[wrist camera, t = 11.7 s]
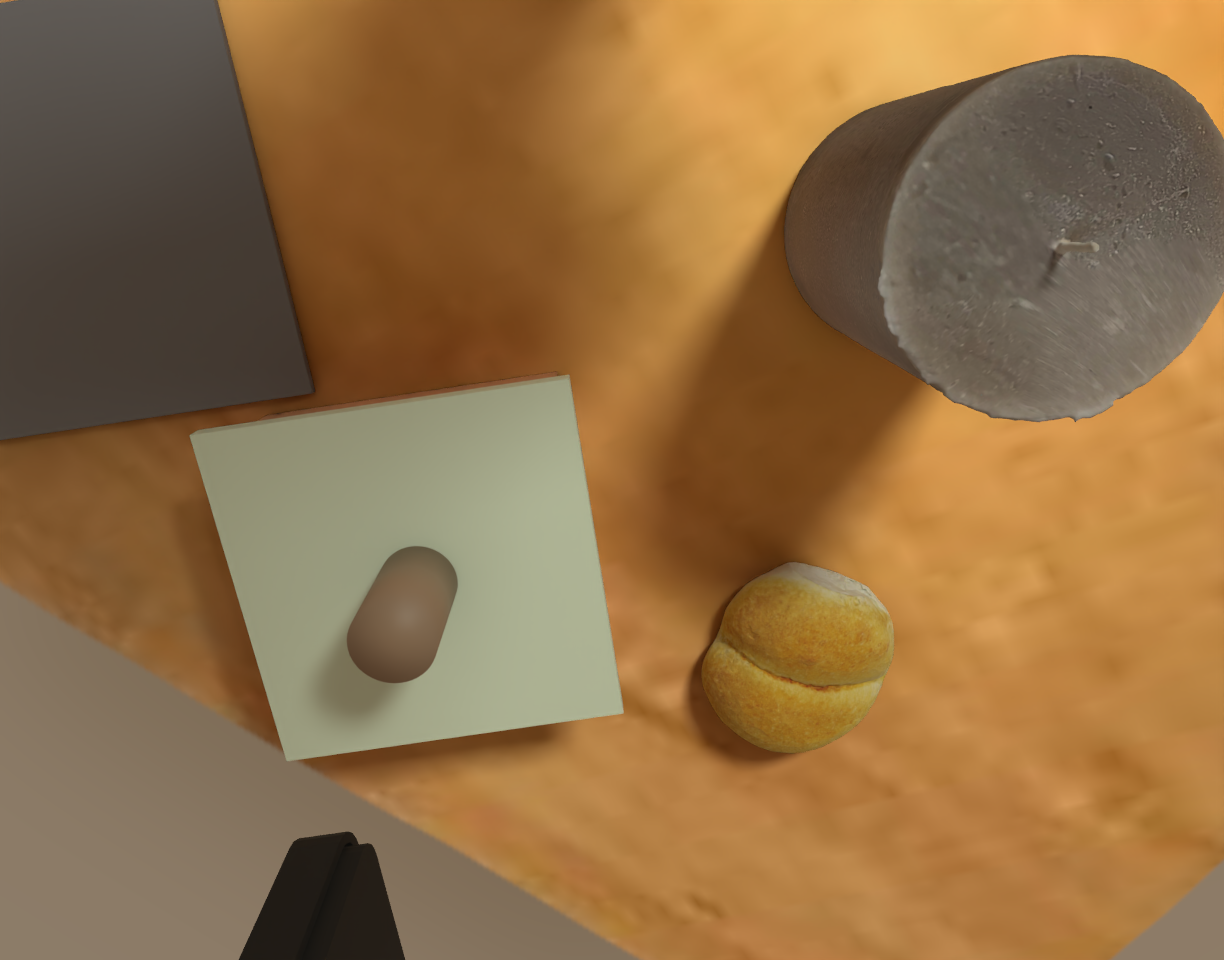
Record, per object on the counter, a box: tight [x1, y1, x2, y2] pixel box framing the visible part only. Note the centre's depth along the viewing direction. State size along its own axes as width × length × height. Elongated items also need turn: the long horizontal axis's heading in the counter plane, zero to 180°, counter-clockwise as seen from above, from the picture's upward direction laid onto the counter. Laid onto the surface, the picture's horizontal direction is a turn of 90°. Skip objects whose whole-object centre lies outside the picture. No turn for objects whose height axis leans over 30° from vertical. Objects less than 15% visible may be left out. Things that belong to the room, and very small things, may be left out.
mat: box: [0, 0, 315, 440], centre depth 36 cm, size 16×16×1 cm
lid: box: [189, 375, 623, 761], centre depth 33 cm, size 14×14×6 cm
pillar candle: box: [784, 55, 1224, 422], centre depth 30 cm, size 10×10×15 cm
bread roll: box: [701, 562, 894, 754], centre depth 41 cm, size 8×9×4 cm
